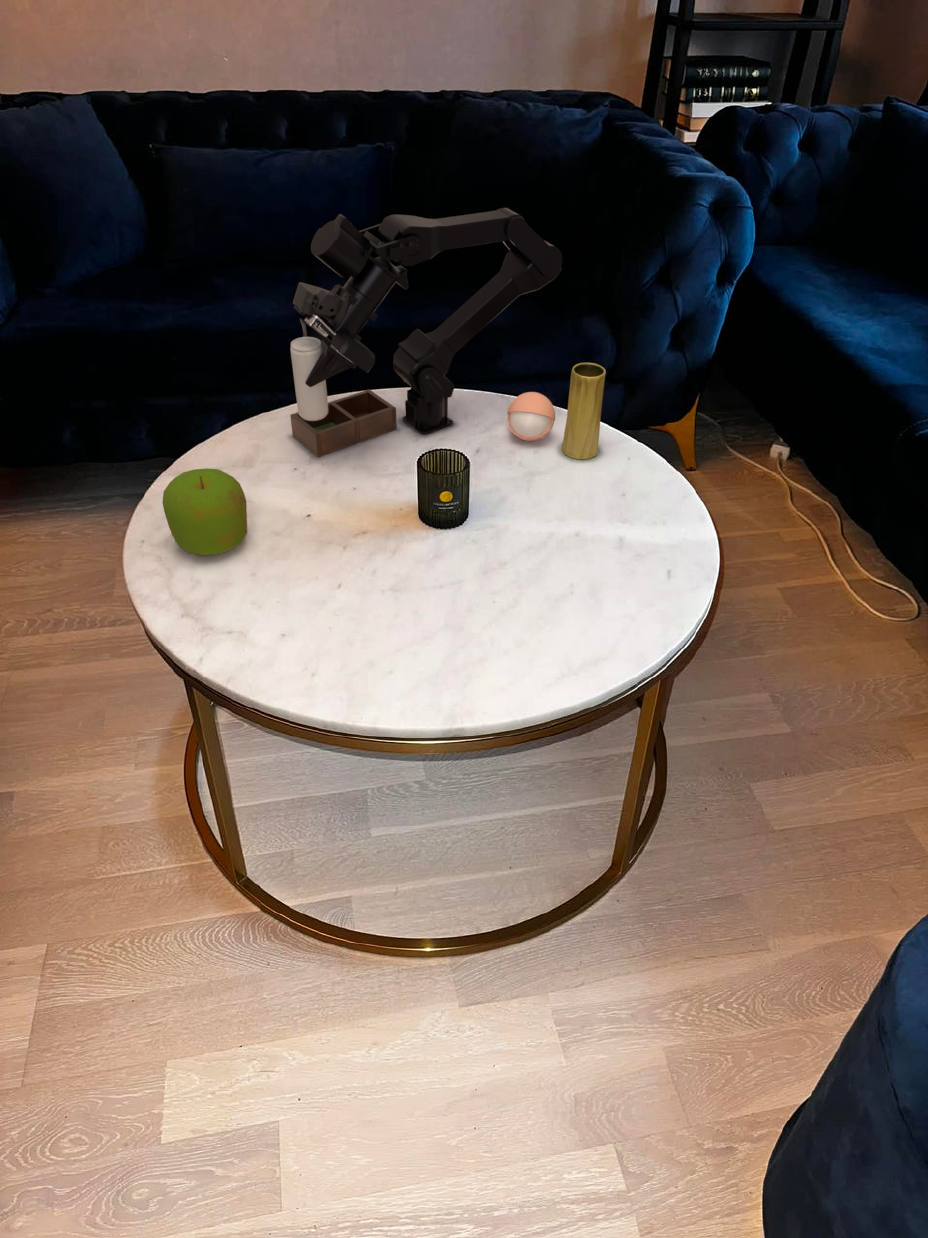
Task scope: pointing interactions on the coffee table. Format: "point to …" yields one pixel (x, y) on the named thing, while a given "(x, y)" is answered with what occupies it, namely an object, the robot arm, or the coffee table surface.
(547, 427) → the toy ball
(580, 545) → the coffee table surface
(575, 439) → the vase
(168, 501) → the apple
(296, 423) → the brown wooden divided box
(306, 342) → the beverage can
